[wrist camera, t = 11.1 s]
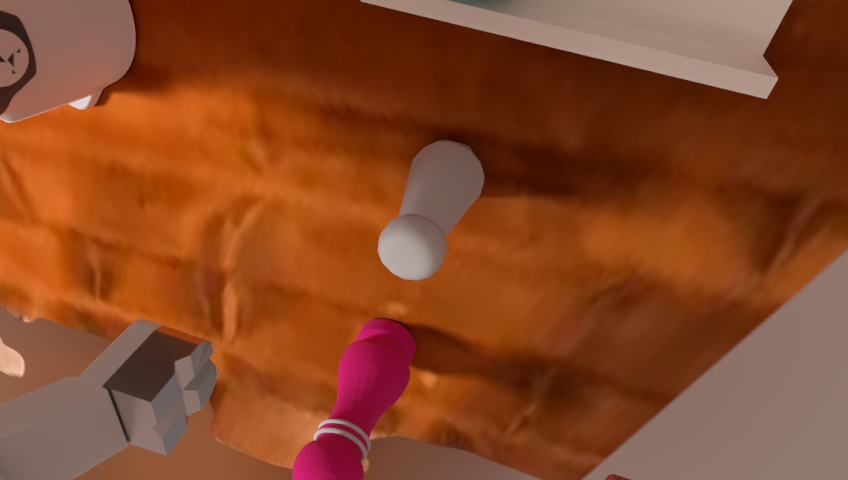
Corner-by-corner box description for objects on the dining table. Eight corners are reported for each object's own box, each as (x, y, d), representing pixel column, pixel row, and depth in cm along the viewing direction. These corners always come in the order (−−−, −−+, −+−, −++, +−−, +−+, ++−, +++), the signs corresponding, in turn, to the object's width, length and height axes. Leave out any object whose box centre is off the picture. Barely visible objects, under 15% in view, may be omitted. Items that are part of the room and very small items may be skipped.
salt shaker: (405, 154, 44) (343, 246, 34) (457, 115, 41) (405, 204, 31) (451, 205, 46) (405, 307, 36) (504, 171, 42) (470, 274, 32)
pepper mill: (351, 310, 57) (253, 485, 41) (416, 318, 55) (339, 505, 39) (363, 358, 61) (278, 533, 45) (424, 366, 59) (357, 553, 43)
